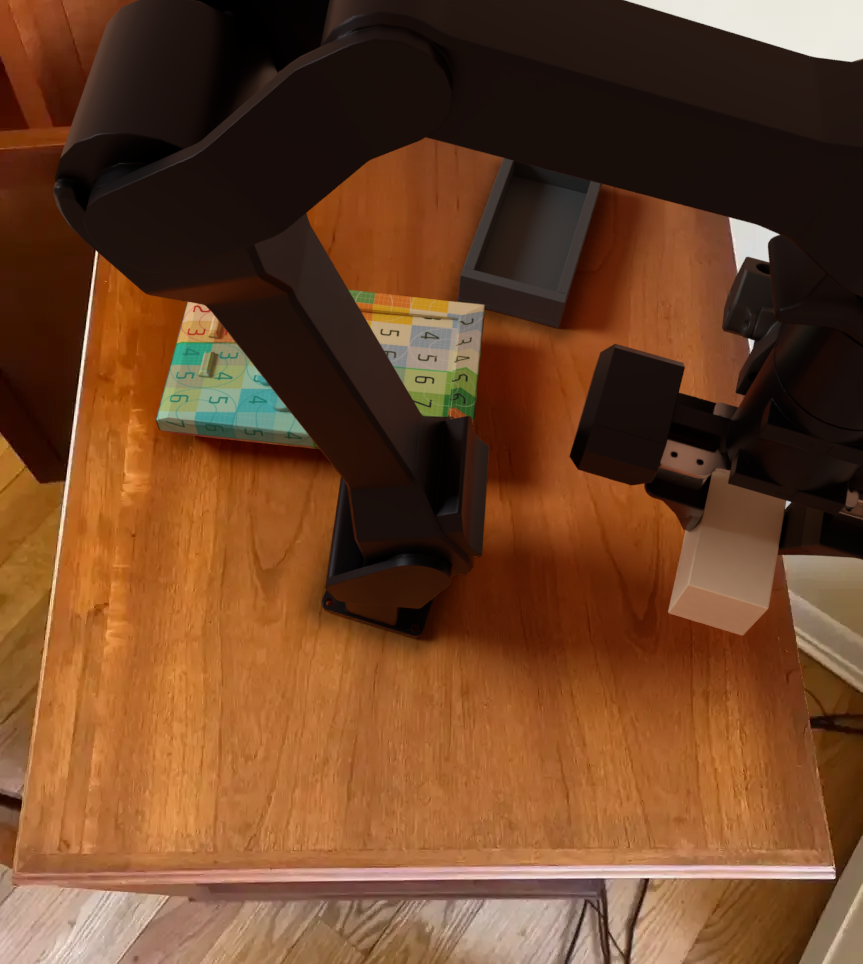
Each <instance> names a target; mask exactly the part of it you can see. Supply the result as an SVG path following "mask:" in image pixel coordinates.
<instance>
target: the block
mask: <svg viewBox="0 0 863 964" xmlns="http://www.w3.org/2000/svg"><path fill="white" fill-rule="evenodd" d="M728 480H729V474H726V473H722V472H719V471H715V472H713V473H712V477H711V481H710V486H709V491H708V495H707V500H706V505H705V509H704V512H703V514H702V516H701V518H700V520H699V522H698V524H697V526H696V527H695V528H694V529H692V530H690V531H687V530H684V532H685V533H684V536H683V541H682V545H681V550H680V555H679V560H678V564H677V569H676V574H675V577H674V578H675V579H674V583H673V586H672V591H671V596H670V601H669V604H668V605H669V606H668V610H667V613H668V614H670V615H673V616H676V617H680V618H683V619H686V620H689V621H693V622H696V623H700V624H703V625H706V626H709V627H713V628H716V629H719V630H722V631H726V632H729V633H732V634H736V635H738V636H744V635H746V633H747V632H748V631H749V630H750V629H751V628H752V627H753V626H754V625H755V624H756V622H757V621H758V620H759V619H760V618H762V616H763V615H764V614H765V613H766V612H767V611H768V610H769V608H770V602H771V597H772V591H773V585H774V578H775V573H776V566H777V561H778V556H779V555H778V549H779V543H780V537H781V531H782V525H783V518H784V512H785V509H786V507H787V501H786V500H782V499H779V498H776V497H772V496H769V495H765V494H762V493H758V492H755V491H752V490H748V489H745V488H741V487H738V486H734V485H731V484H728Z"/></svg>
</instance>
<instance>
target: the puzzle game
mask: <svg viewBox="0 0 863 964" xmlns="http://www.w3.org/2000/svg"><path fill="white" fill-rule="evenodd" d="M348 290H349V292H350V293H351V295H352V297H353V299H354V300H355V302H356V304H357V305H358V307H359V309H360V310H361V312H362V314H363V316H364V317H365V319H366V321H367V322H368V324H369V326H370V328H371V329H372V331H373V333H374V334H375V336H376V338H377V340H378V341H379V343H380V345H381V346H382V348H383V350H384V351H385V353H386V355H387V357H388V358H389V360H390V362H391V363H392V365H393V367H394V369H395V370H396V372H397V374H398V375H399V377H400V379H401V380H402V382H403V384H404V386H405V387H406V389H407V391H408V392H409V394H410V396H411V398H412V399H413V401H414V403H415V404H416V406H417V408H418V409H419V411H420V413H421V414H422V415H423V416H441V417H449V418H451V419H454V418H459V417H464V416H471V417H472V423H473V428H474V429H475V421H476V410H477V400H478V399H477V398H478V390H479V389H478V388H479V379H480V368H481V357H482V348H483V347H482V346H483V335H484V324H485V315H486V314H485V313H486V309H485V305H481V304H472V303H462V302H458V301H452V300H442V299H434V298H425V297H416V296H409V295H408V296H407V295H398V294H389V293H381V292H373V291H372V292H371V291H365V290H364V291H363V290H357V289H356V290H353V289H348ZM155 422H156V423H155V424H156V425H157V428H158V430H159V431H162V432H165V433H169V434H173V435H183V436H192V437H201V438H202V437H203V438H210V439H211V438H212V439H220V440H230V441H240V442H248V443H258V444H266V445H275V446H276V445H277V446H286V447H294V448H296V447H297V448H304V449H315V450H320V449H319V448H318V446H317V445H316V444H315V443H314V441H313V440H312V439H311V437H310V436H309V435H308V434H307V432H306V431H305V430H304V429H303V427H302V426H301V425H300V423H299V422H298V421H297V420H296V418H295V417H294V416H293V415H292V413H291V412H290V411H289V410H288V408H287V407H286V406H285V404H284V403H283V402H282V401H281V399H280V398H279V397H278V396H277V394H276V393H275V392H274V390H273V389H272V388H271V387H270V385H269V384H268V383H267V382H266V380H265V379H264V378H263V377H262V375H261V374H260V373H259V371H258V370H257V369H256V368H255V366H254V365H253V364H252V363H251V361H250V360H249V359H248V357H247V356H246V355H245V354H244V352H243V351H242V350H241V349H240V347H239V346H238V345H237V344H236V342H235V341H234V340H233V338H232V337H231V336H230V335H229V333H228V332H227V331H226V330H225V328H224V327H223V326H222V324H221V323H220V322H219V321H218V319H217V318H216V317H215V316H214V314H213V313H212V312H211V311H210V310H209V309H208V308H207V307H206V306H205V305H202V304H197V303H191V302H186V304H185V309H184V311H183V315H182V319H181V323H180V327H179V331H178V334H177V338H176V342H175V346H174V349H173V353H172V357H171V361H170V365H169V368H168V372H167V375H166V379H165V382H164V387H163V390H162V394H161V398H160V402H159V406H158V409H157V413H156V417H155Z"/></svg>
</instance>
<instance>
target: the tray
mask: <svg viewBox="0 0 863 964" xmlns="http://www.w3.org/2000/svg"><path fill="white" fill-rule="evenodd" d="M602 186H603V184H600V183H597V182H593V181H589V180H585V179H581V178H578V177H574V176H570V175H566V174H562V173H559V172H555V171H551V170H547V169H543V168H540V167H536V166H532V165H528V164H524V163H521V162H517V161H513V160H509V159H505V158H502V162H501V164H500V166H499V170H498V172H497V175H496V177H495V180H494V182H493V185H492V188H491V191H490V194H489V195H488V196H489V197H488V199H487V202H486V205H485V207H484V210H483V211H482V212H483V213H482V215H481V218H480V221H479V223H478V227H477V228H476V232H475V234H474V237H473V240H472V242H471V245H470V248H469V251H468V253H467V256H466V259H465V262H464V264H463V267H462V269H461V273H460V276H459V283H458V284H459V286H458V293H457V302H462V303H472V304H481V305H485V310H489V311H492V312H496V313H500V314H504V315H507V316H509V317H514V318H518V319H522V320H525V321H530V322H533V323H537V324H541V325H545V326H548V327H552V328H555V329H559V328H560V327H561V323H562V318H563V315H564V312H565V309H566V306H567V303H568V299H569V296H570V292H571V290H572V289H571V288H572V285H573V282H574V279H575V275H576V273H577V269H578V265H579V261H580V259H581V256H582V252H583V249H584V246H585V242H586V239H587V236H588V233H589V229H590V226H591V222H592V219H593V215H594V212H595V209H596V207H597V206H596V205H597V203H598V199H599V196H600V192H601V189H602Z"/></svg>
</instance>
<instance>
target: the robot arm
mask: <svg viewBox="0 0 863 964" xmlns="http://www.w3.org/2000/svg"><path fill="white" fill-rule="evenodd" d="M77 105H78V106H77V108H76V111H75V114H74V117H73V120H72V123H71V126H70V128H69V132H68V134H67V137H66V140H65V143H64V146H63V149H62V151H61V155H60V157H59V159H58V160H59V161H58V164H57V168H56V172H55V176H54V186H53V191H52V194H53V196H54V201H55V205H56V207H57V209H58V211H59V212H60V214H61V215H62V217H63V219H64V220H65V222H66V223H67V224H68V225H69V227H70V228H71V229H72V230H73V231H74V232H75V233H76V234H77V235H78V236H79V237H80V238H81V239H82V240H83V241H84V242H86V243H87V245H89V246H90V247H91V248H92V249H93V250H94V251H96V253H98V254H99V255H100V256H101V257H102V258H104V259H105V260H106V261H107V262H108V263H109V264H111V265H112V266H113V267H114V268H115V269H116V270H118V272H120V273H121V274H122V275H123V276H124V277H125V278H126V279H127V280H129V281H130V282H131V283H132V284H133V285H135V286H136V288H137V289H139V290H140V291H141V292H142V293H144V294H146V295H148V296H151V297H157V298H162V299H167V300H168V299H169V300H173V301H174V300H175V301H182V302H185V303H187V302H191V303H197V304H202V305H205V306H206V307H207V308H208V309H209V310H210V311H211V312H212V313H213V314H214V316H215V317H216V318H217V319H218V321H219V322H220V323H221V324H222V326H223V327H224V328H225V330H226V331H227V332H228V333H229V335H230V336H231V337H232V338H233V340H234V341H235V342H236V344H237V345H238V346H239V347H240V349H241V350H242V351H243V352H244V354H245V355H246V356H247V357H248V359H249V360H250V361H251V363H252V364H253V365H254V366H255V368H256V369H257V370H258V371H259V373H260V374H261V375H262V377H263V378H264V379H265V380H266V382H267V383H268V384H269V385H270V387H271V388H272V389H273V390H274V392H275V393H276V394H277V396H278V397H279V398H280V399H281V401H282V402H283V403H284V404H285V406H286V407H287V408H288V410H289V411H290V412H291V413H292V415H293V416H294V417H295V418H296V420H297V421H298V422H299V423H300V425H301V426H302V427H303V429H304V430H305V431H306V432H307V434H308V435H309V436H310V437H311V439H312V440H313V441H314V443H315V444H316V445H317V446H318V448H319V449H318V450H320V452H321V453H322V454H323V456H325V458H326V459H327V460H328V462H329V463H330V464H331V466H332V467H333V468H334V470H336V472H337V473H338V474H339V476H340V478H339V487H338V493H337V501H336V507H335V514H334V521H333V529H332V536H331V541H330V550H329V556H328V564H327V571H326V577H325V585H324V589H325V591H324V593H323V596H322V598H321V607H322V609H323V610H324V611H325V612H327V613H331V614H333V615H337V616H339V617H344V618H346V619H350V620H354V621H356V622H360V623H363V624H365V625H370V626H373V627H377V628H380V629H383V630H386V631H390V632H392V633H396V634H400V635H403V636H406V637H409V638H412V639H418V638H420V637H422V636H423V634H424V632H425V628H426V625H427V623H428V620H429V617H430V613H431V610H432V607H433V603H434V601H435V598H436V597H437V596H438V595H439V594H440V593H442V592H444V590H445V589H447V588H448V587H449V586H450V585H451V581H452V577H455V576H458V575H462V576H468V575H469V574H470V573H472V572H473V569H474V563H475V558H482V557H483V553H484V552H483V551H484V536H485V523H486V522H485V521H486V509H487V508H486V506H487V492H488V477H489V476H488V475H489V462H490V461H489V459H490V445H489V444H488V443H486V442H485V441H483V440H482V439H481V438H480V436H479V435H478V434H477V433H476V432H475V431H476V430H475V427H474V428H473V423H472V417H471V416H464V417H459V418H454V419H451V418H449V417H441V416H423V415H422V414H421V413H420V411H419V409H418V408H417V406H416V404H415V403H414V401H413V399H412V398H411V396H410V394H409V392H408V391H407V389H406V387H405V386H404V384H403V382H402V380H401V379H400V377H399V375H398V374H397V372H396V370H395V369H394V367H393V365H392V363H391V362H390V360H389V358H388V357H387V355H386V353H385V351H384V350H383V348H382V346H381V345H380V343H379V341H378V340H377V338H376V336H375V334H374V333H373V331H372V329H371V328H370V326H369V324H368V322H367V321H366V319H365V317H364V316H363V314H362V312H361V310H360V309H359V307H358V305H357V304H356V302H355V300H354V299H353V297H352V295H351V293H350V292H349V290H350V289H349V288H348V287H347V285H346V283H345V282H344V280H343V278H342V277H341V275H340V273H339V271H338V270H337V268H336V266H335V265H334V263H333V261H332V259H331V258H330V256H329V254H328V252H327V251H326V249H325V247H324V245H323V244H322V242H321V241H320V239H319V237H318V236H317V234H316V232H315V230H314V228H313V227H312V225H311V222H310V220H309V217H308V212H309V211H311V210H312V209H313V208H314V207H315V206H316V205H318V204H319V203H320V202H322V200H324V199H325V198H326V197H327V196H329V195H330V194H331V193H332V192H333V191H334V190H336V189H337V188H338V187H339V186H341V185H342V184H343V183H344V182H345V181H347V180H348V179H349V178H350V177H352V175H353V174H355V173H356V172H358V171H359V170H360V169H361V168H362V167H363V166H365V165H366V164H367V163H368V162H370V161H372V160H375V159H377V158H379V157H382V156H384V155H386V154H390V153H392V152H395V151H397V150H399V149H402V148H405V147H407V146H410V145H413V144H415V143H417V142H420V141H422V140H424V139H430V140H434V141H437V142H441V143H445V144H448V145H453V146H456V147H460V148H464V149H467V150H471V151H472V150H473V151H475V152H479V153H483V154H487V155H491V156H494V157H497V158H502V159H503V158H505V159H509V160H513V161H517V162H521V163H524V164H528V165H532V166H536V167H540V168H543V169H547V170H551V171H555V172H559V173H562V174H566V175H570V176H574V177H578V178H581V179H585V180H589V181H593V182H597V183H600V184H602V185H605V186H609V187H612V188H616V189H620V190H623V191H628V192H631V193H635V194H639V195H642V196H646V197H649V198H654V199H657V200H661V201H666V202H669V203H673V204H676V205H679V206H680V205H681V206H684V207H688V208H692V209H696V210H700V211H703V212H707V213H711V214H714V215H718V216H722V217H726V218H730V219H734V220H737V221H742V222H745V223H748V224H753V225H755V226H759V227H762V228H763V229H766V230H768V231H770V232H773V233H775V234H777V235H775V236H773V237H771V238H770V239H769V241H768V242H767V253H768V254H767V255H768V261H766V260H762V259H758V258H755V257H751V256H745V258H744V260H743V262H742V264H741V265H740V268H739V270H737V271H738V272H737V274H736V275H735V278H734V280H733V282H732V284H731V287H730V289H729V292H728V294H727V297H726V301H725V303H724V307H723V314H722V315H723V316H722V322H721V324H722V325H721V329H722V331H723V332H725V333H729V334H732V335H734V336H735V335H736V336H739V337H742V338H745V339H747V340H751V341H753V344H752V349H751V351H750V353H749V354H748V356H747V358H746V359H745V362H744V363H743V365H742V367H741V368H740V371H739V372H738V377H737V381H736V386H735V392H734V393H735V394H737V395H740V396H743V399H742V400H741V401H740V403H739V405H738V406H735V405H732V404H728V403H724V402H715V401H710V400H707V399H704V398H701V397H696V396H693V395H691V394H687V393H682V392H680V390H681V387H682V386H681V385H682V381H683V377H684V373H685V370H686V366H685V363H684V362H682V361H679V360H675V359H671V358H668V357H663V356H661V355H658V354H653V353H650V352H646V351H643V350H639V349H636V348H632V347H628V346H625V345H622V344H618V343H614V344H612V345H611V346H608V347H607V348H605V349H603V350H602V351H600V352H599V356H598V357H597V361H596V364H595V367H594V370H593V373H592V377H591V381H590V383H589V387H588V390H587V394H586V398H585V401H584V404H583V408H582V411H581V415H580V417H579V421H578V425H577V429H576V432H575V435H574V439H573V442H572V446H571V449H570V452H569V455H568V456H569V457H568V458H570V460H571V461H572V463H573V465H574V467H576V469H577V470H578V471H581V472H585V473H588V474H592V475H594V476H598V477H602V478H604V479H608V480H611V481H614V482H618V483H622V484H625V485H628V486H637V485H643V488H644V491H645V493H646V494H647V495H648V496H649V497H651V498H653V499H656V500H659V501H661V502H663V503H664V504H665V505H666V506H667V507H668V508H669V509H670V510H671V511H672V513H674V514H675V516H676V518H677V520H678V522H679V524H680V526H681V528H682V530H684V531H686V530H687V531H690V530H692V529H694V528H695V527H696V526H697V524H698V522H699V520H700V518H701V516H702V514H703V512H704V509H705V505H706V500H707V495H708V491H709V486H710V481H711V477H712V473H713V472H715V471H719V472H722V473H726V474H729V480H728V484H731V485H734V486H738V487H741V488H745V489H748V490H752V491H755V492H758V493H762V494H765V495H769V496H772V497H776V498H779V499H782V500H786V502H790V503H788V505H786V506H785V512H784V518H783V525H782V531H781V537H780V543H779V549H778V555H777V556H812V557H813V556H816V557H831V558H833V557H835V558H850V559H857V560H861V561H863V58H859V59H856V60H853V61H847V60H841V59H832V58H824V57H818V56H817V57H816V56H811V55H808V54H806V53H805V54H804V53H801V52H798V51H795V50H792V49H788V48H785V47H781V46H778V45H775V44H771V43H768V42H765V41H763V40H758V39H755V38H751V37H749V36H745V35H742V34H738V33H735V32H732V31H729V30H725V29H723V28H719V27H715V26H712V25H708V24H705V23H702V22H698V21H696V20H692V19H688V18H685V17H681V16H679V15H676V14H673V13H669V12H665V11H662V10H659V9H655V8H652V7H649V6H645V5H642V4H638V3H635V2H632V1H629V0H135V1H133V2H130V3H128V4H126V5H123V6H121V7H120V8H119V9H118V10H117V11H116V13H114V15H113V16H112V17H111V18H110V19H109V21H107V23H106V24H105V27H104V30H103V33H102V36H101V39H100V42H99V45H98V48H97V51H96V53H95V56H94V60H93V62H92V64H91V68H90V70H89V74H88V76H87V79H86V82H85V85H84V88H83V91H82V94H81V97H80V99H79V102H78V104H77ZM329 601H331V602H333V603H332V605H329V604H328V605H327V603H328V602H329ZM414 627H417V628H418V631H414V630H413V628H414Z"/></svg>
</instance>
